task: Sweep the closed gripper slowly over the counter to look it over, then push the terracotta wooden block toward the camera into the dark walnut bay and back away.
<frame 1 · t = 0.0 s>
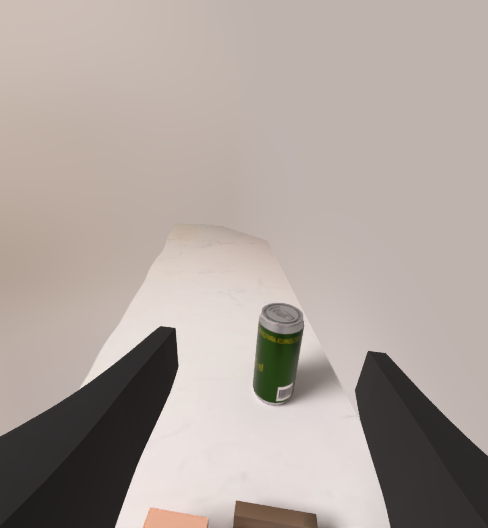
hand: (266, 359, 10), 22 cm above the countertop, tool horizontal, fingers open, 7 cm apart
beer can: (272, 391, 37), on the countertop
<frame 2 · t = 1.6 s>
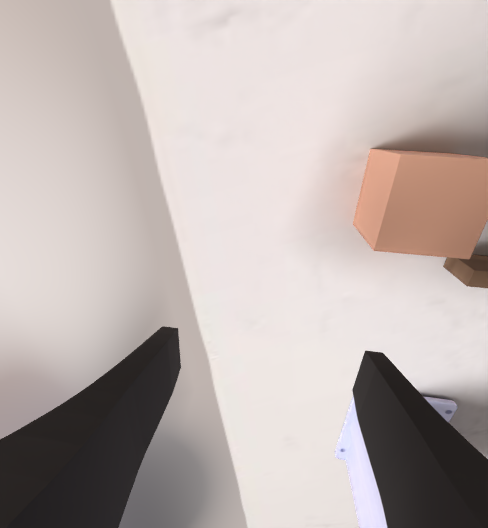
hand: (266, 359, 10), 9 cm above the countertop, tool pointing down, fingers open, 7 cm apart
terracotta block: (399, 191, 16), on the countertop
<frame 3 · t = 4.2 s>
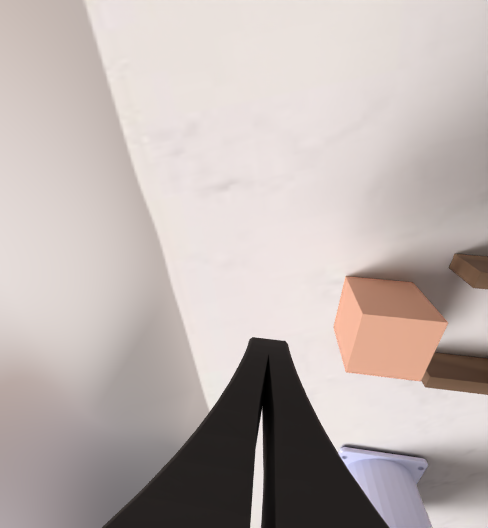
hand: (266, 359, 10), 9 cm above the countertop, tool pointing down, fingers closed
terracotta block: (370, 305, 20), on the countertop
walnut bay: (460, 315, 19), on the countertop
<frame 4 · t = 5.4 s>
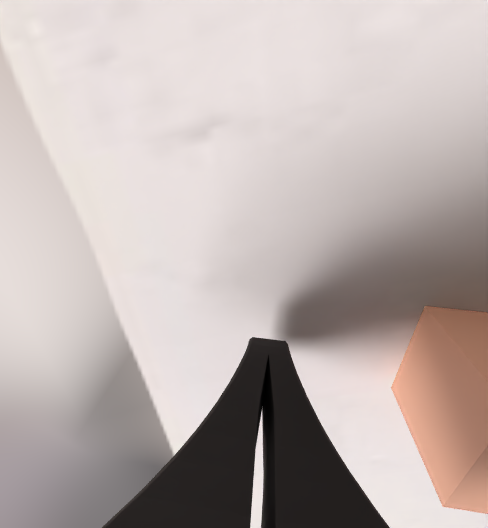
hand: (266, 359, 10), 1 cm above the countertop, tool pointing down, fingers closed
terracotta block: (462, 355, 11), on the countertop
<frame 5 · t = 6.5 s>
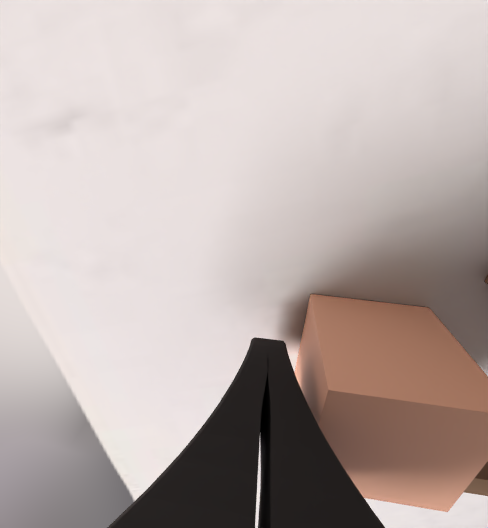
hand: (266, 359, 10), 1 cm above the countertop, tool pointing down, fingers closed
terracotta block: (354, 344, 11), on the countertop, touching gripper
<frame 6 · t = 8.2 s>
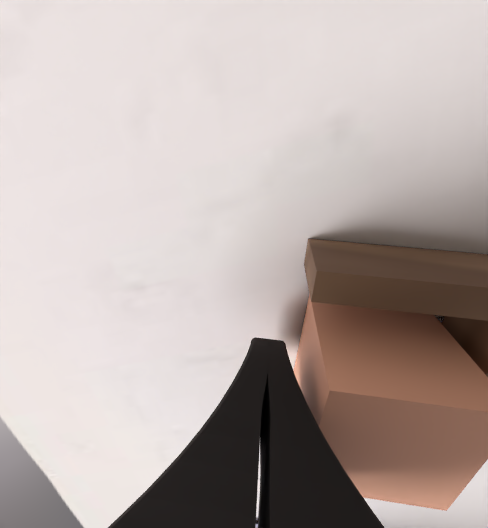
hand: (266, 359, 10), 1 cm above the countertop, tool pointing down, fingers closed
terracotta block: (353, 344, 11), on the countertop, touching gripper
walnut bay: (340, 343, 11), on the countertop
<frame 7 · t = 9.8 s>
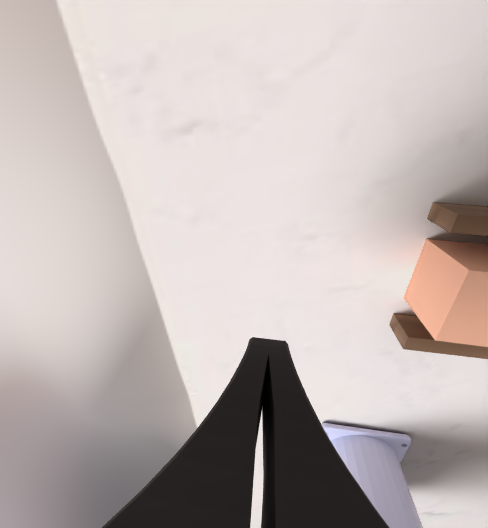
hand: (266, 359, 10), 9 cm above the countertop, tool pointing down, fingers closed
terracotta block: (448, 273, 18), on the countertop
walnut bay: (440, 273, 18), on the countertop
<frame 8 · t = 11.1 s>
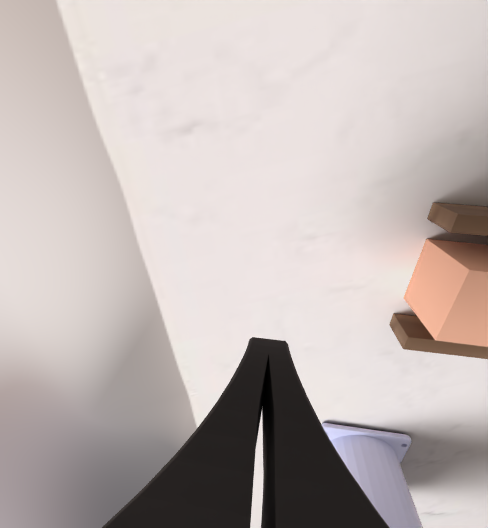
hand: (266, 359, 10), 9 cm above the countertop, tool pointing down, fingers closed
terracotta block: (448, 273, 18), on the countertop
walnut bay: (440, 273, 18), on the countertop
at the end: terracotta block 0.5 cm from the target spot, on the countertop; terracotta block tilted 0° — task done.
